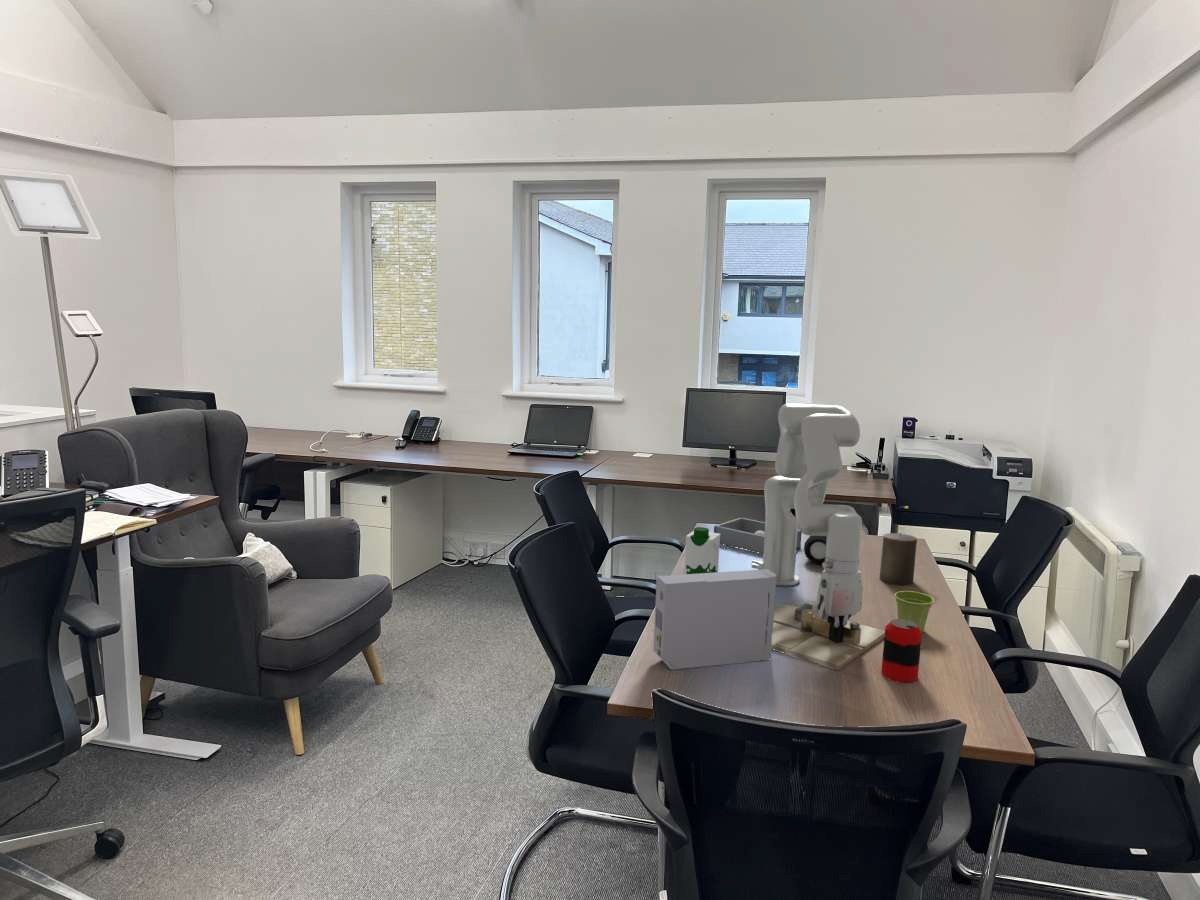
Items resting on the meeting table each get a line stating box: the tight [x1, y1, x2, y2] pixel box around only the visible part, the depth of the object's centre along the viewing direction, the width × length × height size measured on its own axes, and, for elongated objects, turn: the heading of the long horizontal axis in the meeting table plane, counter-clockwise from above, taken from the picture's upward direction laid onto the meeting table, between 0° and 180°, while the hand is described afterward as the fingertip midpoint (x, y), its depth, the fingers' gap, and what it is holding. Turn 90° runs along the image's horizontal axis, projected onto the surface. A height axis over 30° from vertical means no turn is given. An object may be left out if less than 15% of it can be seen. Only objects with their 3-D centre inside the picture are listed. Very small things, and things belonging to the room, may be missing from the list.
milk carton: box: [683, 526, 720, 575], centre depth 225 cm, size 9×9×20 cm
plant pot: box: [894, 590, 935, 633], centre depth 207 cm, size 9×9×9 cm
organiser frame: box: [713, 517, 803, 554], centre depth 282 cm, size 24×18×6 cm
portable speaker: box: [803, 535, 827, 566], centre depth 270 cm, size 26×10×10 cm, turn 157°
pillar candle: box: [879, 532, 918, 586], centre depth 246 cm, size 10×10×15 cm
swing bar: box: [801, 609, 861, 646], centre depth 196 cm, size 15×4×5 cm, turn 43°
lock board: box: [772, 603, 885, 671], centre depth 200 cm, size 28×28×4 cm
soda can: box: [881, 618, 923, 684], centre depth 179 cm, size 8×8×12 cm
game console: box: [653, 569, 777, 671], centre depth 183 cm, size 6×27×20 cm, turn 107°
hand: (835, 640), depth 191 cm, fingers closed
